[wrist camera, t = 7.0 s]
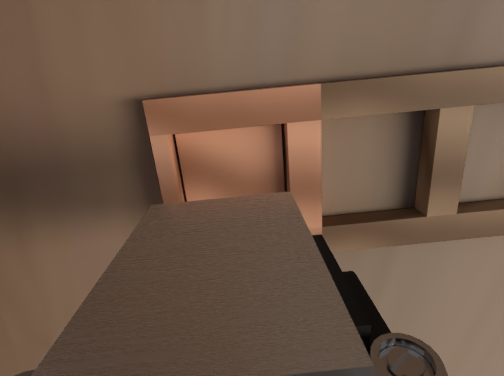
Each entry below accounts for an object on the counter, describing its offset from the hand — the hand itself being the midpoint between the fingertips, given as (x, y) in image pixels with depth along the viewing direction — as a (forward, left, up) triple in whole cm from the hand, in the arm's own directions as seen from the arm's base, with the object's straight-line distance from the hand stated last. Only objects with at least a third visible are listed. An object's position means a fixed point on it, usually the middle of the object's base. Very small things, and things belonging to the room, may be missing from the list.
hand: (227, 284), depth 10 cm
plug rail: (0, +9, -11) cm, 14 cm away
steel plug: (0, 0, -2) cm, 2 cm away
